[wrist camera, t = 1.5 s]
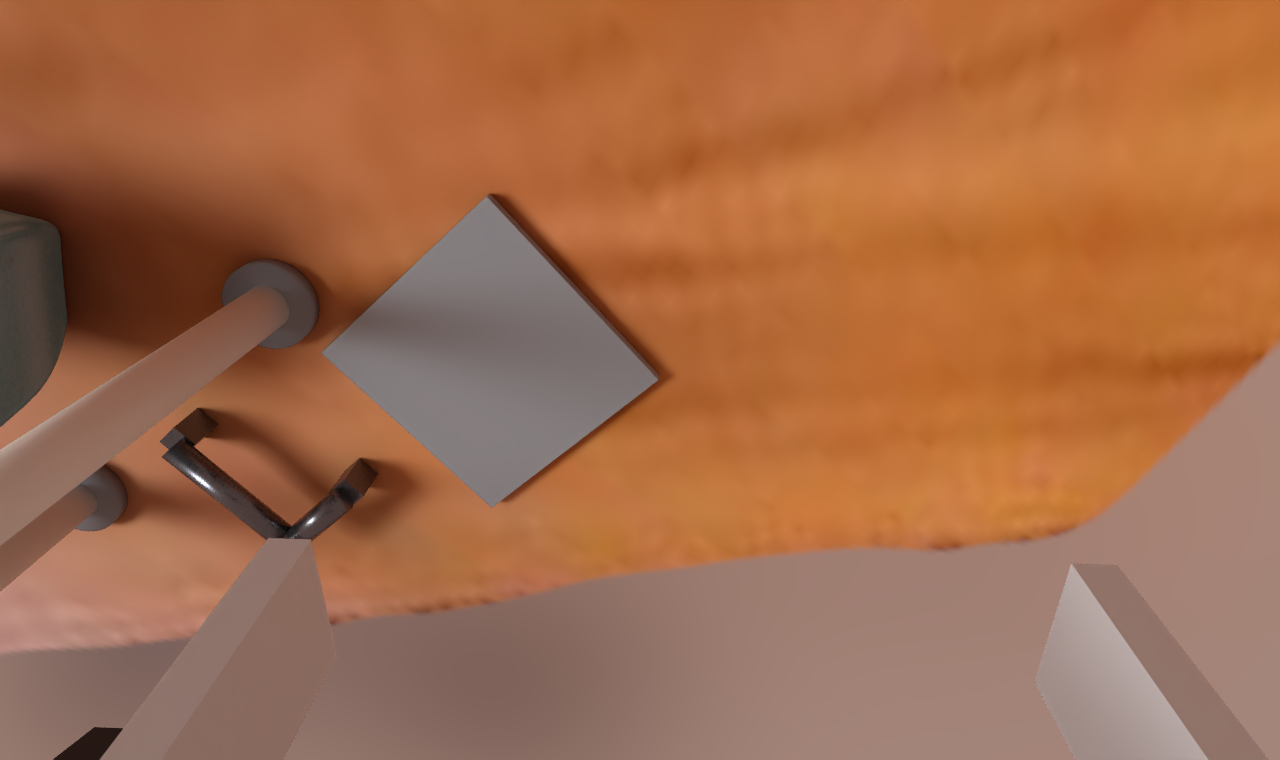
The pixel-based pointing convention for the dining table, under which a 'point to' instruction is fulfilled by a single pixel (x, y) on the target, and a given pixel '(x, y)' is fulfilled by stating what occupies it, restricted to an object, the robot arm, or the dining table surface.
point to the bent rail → (246, 503)
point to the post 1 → (64, 522)
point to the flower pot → (28, 308)
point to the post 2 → (152, 389)
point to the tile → (491, 355)
